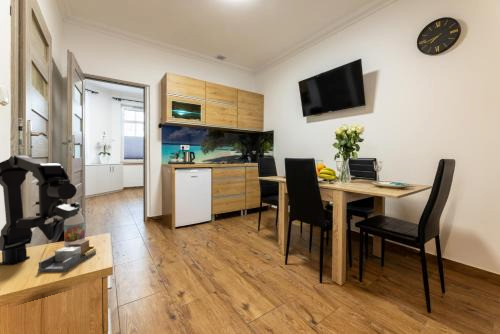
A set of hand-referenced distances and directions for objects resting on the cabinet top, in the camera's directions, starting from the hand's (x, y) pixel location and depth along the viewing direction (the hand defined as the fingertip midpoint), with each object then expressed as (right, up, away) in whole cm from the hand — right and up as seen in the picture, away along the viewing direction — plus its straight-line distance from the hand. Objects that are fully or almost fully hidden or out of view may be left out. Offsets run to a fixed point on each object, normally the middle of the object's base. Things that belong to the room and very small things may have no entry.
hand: (51, 239), depth 78 cm
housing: (0, -10, +13) cm, 17 cm away
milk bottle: (-13, -12, +26) cm, 31 cm away
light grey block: (0, -10, +8) cm, 13 cm away
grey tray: (0, -12, +8) cm, 14 cm away
